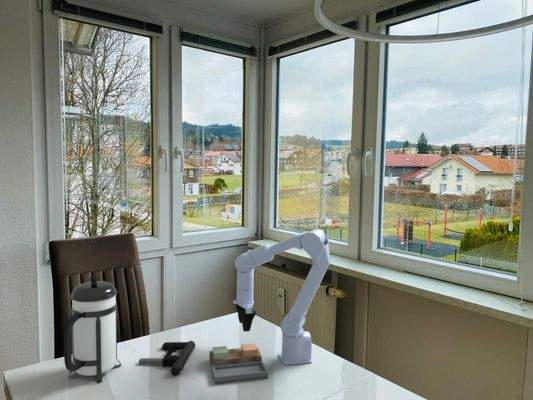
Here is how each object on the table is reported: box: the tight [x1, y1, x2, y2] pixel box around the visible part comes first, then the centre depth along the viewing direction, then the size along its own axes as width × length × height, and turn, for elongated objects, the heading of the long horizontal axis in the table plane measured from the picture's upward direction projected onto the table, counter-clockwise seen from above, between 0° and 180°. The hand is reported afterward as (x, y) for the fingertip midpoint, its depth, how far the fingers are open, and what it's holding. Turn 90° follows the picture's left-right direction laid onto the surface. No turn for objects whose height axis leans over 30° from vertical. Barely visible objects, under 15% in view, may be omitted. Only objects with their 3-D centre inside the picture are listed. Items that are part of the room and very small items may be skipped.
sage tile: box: [211, 345, 228, 360], centre depth 131 cm, size 4×4×2 cm
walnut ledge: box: [208, 347, 263, 370], centre depth 132 cm, size 16×7×3 cm, turn 104°
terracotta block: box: [240, 343, 259, 357], centre depth 133 cm, size 4×4×2 cm
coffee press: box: [63, 275, 122, 383], centre depth 122 cm, size 17×16×30 cm
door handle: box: [138, 340, 197, 377], centre depth 133 cm, size 3×20×16 cm
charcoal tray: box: [211, 359, 269, 385], centre depth 125 cm, size 16×8×2 cm, turn 104°
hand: (244, 326), depth 141 cm, fingers open, 7 cm apart
